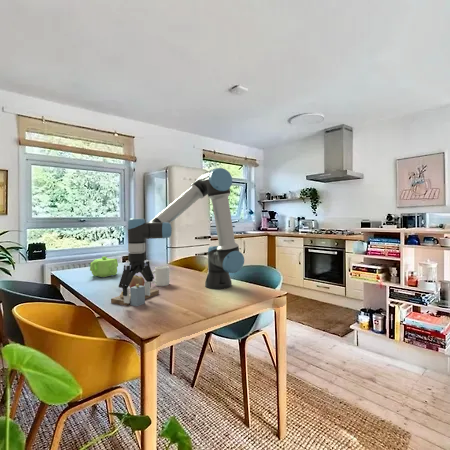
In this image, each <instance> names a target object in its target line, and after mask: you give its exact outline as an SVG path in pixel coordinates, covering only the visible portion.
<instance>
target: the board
mask: <svg viewBox="0 0 450 450" xmlns="http://www.w3.org/2000/svg"><path fill="white" fill-rule="evenodd" d="M129 294H130V292H129ZM159 294H160V290H159V289H154V288H150V296H147V295H145V300H147V299H149V298H151V297H154V296H157V295H159ZM110 303H111V304H114V305H120V306H124V307H125V306H131V305H130V303H124V298H121V297H120V295H118V296H115V297H112V298H110Z"/></svg>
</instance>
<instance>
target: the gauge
mask: <svg viewBox="0 0 450 450" xmlns="http://www.w3.org/2000/svg"><path fill="white" fill-rule="evenodd" d="M129 293H130V305H129V306H134V307H139V306H141V305H145V304H146V299H145V285H144V286H140V285H139V284H136V286H134V287H131V288H130V287H129ZM119 296H120V297H121V298H124V296H123V290H122V291H121V292H120V293H119Z"/></svg>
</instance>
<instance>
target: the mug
mask: <svg viewBox="0 0 450 450" xmlns="http://www.w3.org/2000/svg"><path fill="white" fill-rule="evenodd" d="M151 271H152V274H153V275H154V280H153V281H152V282H151V284H155V286H157V287H167V286H169V285H170V281H171V280H170V266H168V265H160V266H155V267H154V270H151Z"/></svg>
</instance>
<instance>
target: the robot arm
mask: <svg viewBox="0 0 450 450" xmlns="http://www.w3.org/2000/svg"><path fill="white" fill-rule="evenodd" d="M232 185H233V176H232V175H231V173H230V172H229V170H227V169H226V168H223V167H217V168H213V169H210V170H207V171H205V172H203V173H202V174H201V175H200V176H198V177H197V179H196V180H194V181H193V182H192V183H191V184H190V186H189V188H188V189H187V190H186V191H184V192H183V193H181V195H180V196H178V198H176V199H175V200H173V202H171V203H170V204H169V205H168V206H166V208H164V209H163V210H161V212H159V213H158V214H157V215H155V217H154V218H152V219H151V220H150V221H148V222H146V219H145V218H143V217H142V218H129V219H128V220H127V244H128V245H127V248H128V249H127V251H128V254H127V256H128V258H127V260H128V262H129V264H128V265H127V264H124V265H123V270H122V274H121V277H120V280H119V283H118V288H119V289H120V288H121V289H122V291H123V296H124V303H130V294H129V293H130V287H129V284H130V282H131V280H132V278H133V276H134V275H136V274H139V273H140V274H141V276H142V277H143V279H144V281H145V283H144V286H145V295H147V296H150V289H152V288H151V287H152V286H151V285H152V281H154V280H155V275H154V273H153V274H152V271H153V270H152V269H151V265H150V261H149V260H146V259H147V258H146V240H151V239H155V240H156V239H169V238H171V237H172V231H173V230H172V224H171V223H173V222H174V221H175V220H176V219H177V218H178V217H180V215H182V214H183V213H184V212H186V211H187V210H188V209H189V208H190V207H191V206H192V205H194V204H195V203H196V202H197V201H198V200H200V199H201V200H202V199H203V198H205V197H206V196H207V197H208V198H209V199H210V200H211V203H212V209H213V217H214V223H215V229H216V235H217V240H218V245H214V246H212V245H211V246H209V247H208V248H207V269H208V270H207V276H206V279H205V283H204V284H205V285H204V286H205V288H208V289H210V290H223V289H224V288H225V289H229V288H232V286H233V284H232V278H231V276H230V273H231V274H235V273H238V272H239V271H241V269H242V268H243V266H244V264H245V256H244V254H243V253H242V252H241V251H240V247H239V244H238V243H236V240H235V234H234V228H233V227H234V226H233V221H232V213H231V209H230V201H229V196H230V194H231V187H232Z"/></svg>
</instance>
